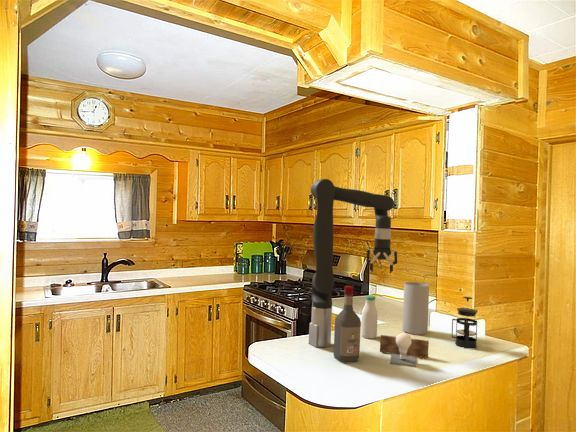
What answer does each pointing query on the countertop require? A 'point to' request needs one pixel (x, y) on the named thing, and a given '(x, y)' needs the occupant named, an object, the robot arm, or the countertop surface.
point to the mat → (407, 362)
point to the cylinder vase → (415, 308)
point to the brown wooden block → (416, 348)
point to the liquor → (347, 331)
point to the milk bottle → (369, 319)
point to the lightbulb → (403, 344)
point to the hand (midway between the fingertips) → (381, 272)
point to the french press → (466, 327)
